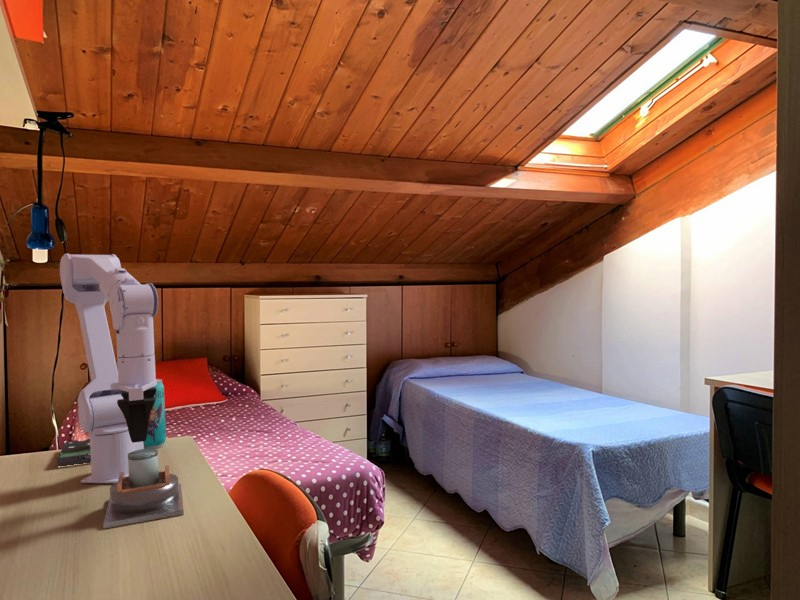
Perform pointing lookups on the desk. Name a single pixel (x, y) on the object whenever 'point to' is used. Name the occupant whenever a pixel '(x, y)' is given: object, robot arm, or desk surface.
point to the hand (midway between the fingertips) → (139, 436)
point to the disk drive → (74, 453)
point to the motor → (143, 501)
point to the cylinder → (143, 467)
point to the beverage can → (157, 420)
